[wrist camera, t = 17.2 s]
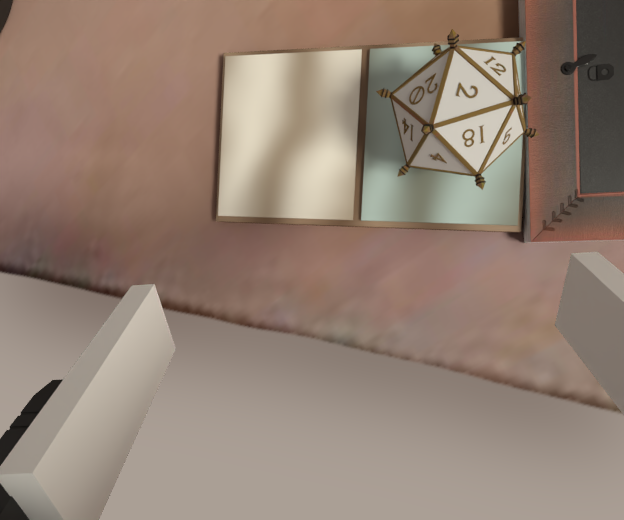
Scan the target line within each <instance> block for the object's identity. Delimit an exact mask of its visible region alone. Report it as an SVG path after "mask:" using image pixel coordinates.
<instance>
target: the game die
mask: <svg viewBox="0 0 624 520" xmlns="http://www.w3.org/2000/svg"><path fill="white" fill-rule="evenodd" d="M458 37H459V35H458V34H456V33H455V32H454V31H453V29H452V30H451V32H450V34H449V35H448V45H450V47H449V48H447V49H445V50H444V51H442V50H441V46H440V45H438V44H436V43H435V44H434V47H433V49H432V51H433V54H434V55H435V57H434V58H432V59H431V60H430V61H429V62H428V63H426V64H425V65H424V66H423V67H422V68H420V69H419V70H418V71H417V72H416V73H414V74H413V75H412V76H411V77H410V78H408V79H407V80H406V81H405V82H404V83H402V84H401V85H400V86H399V87H398V88H396V89H395V90H394V91H393V92H390V91H389V90H388V89H387V90H386V89H384V88H383V89H381V90H378V91H376V92H377V93H378V94H379V95H380V96H381V97H385V98H390V99H391V103H392V107H393V112H394V116H395V120H396V124H397V128H398V132H399V136H400V140H401V144H402V148H403V152H404V157H405V161H406V165H404V166H401V168H400V169H399V173H398V176H402V175H406V173H407V172H408V170H409V168H417V169H424V170H432V171H439V172H446V173H453V174H460V175H467V176H474V177H475V182H476V186H478V187H480V188H481V189H482V190H483V188H484V185H485V183H486V181H485V180H484V179H485V178H484V177H482V175H481V174H482V173H483V172H484V171H485V170H486V169H487V168H488V167H489V166H490V165H491V164H492V163H493V162H494V161H495V160H496V159H497V158H498V157H500V156H501V155H502V154H503V153H504V152H505V151H506V150H507V149H508V148H509V147H510V146H511V145H512V144H513V143H514V142H515V141H516V140H517V139H518V138H519V137H520V136H521V135H522V134H525V135H526V136H527V137H528V136H529V137H530V138H532V137H535V136H538V135H539V133H538V132H537V131H536V129H532V128H529V129H526V125H525V118H524V111H523V104H527V103H528V101H529V100H530V99H531V97H530V96H528V95H527V94H526V93H524V94H523V95H522V94H521V91H520V85H519V78H518V71H517V65H516V58H515V57H516V55H517V54H520V53H521V51H522V50H524V47H525V43H526V41H523V42H520V43H516V44H517V45H516V46H515V47H513V50H512V52H504V51H496V50H489V49H482V48H474V47H467V46H459V45H457V42H458V41H459V40H458ZM398 176H397V177H398Z"/></svg>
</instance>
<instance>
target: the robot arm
mask: <svg viewBox="0 0 624 520" xmlns="http://www.w3.org/2000/svg"><path fill="white" fill-rule="evenodd" d="M11 4H12V0H0V32H1V30H2V28H3V26H4V24H5V22H6V20H7V17H8V14H9V11H10V8H11ZM555 326H556V327H557V329H558V330H559V331H560V333H561V334H562V335H563V336H564V338H565V339H566V340H567V342H568V343H569V344H570V346H571V347H572V348H573V349H574V351H575V352H576V353H577V355H578V356H579V357H580V359H581V360H582V361H583V362H584V364H585V365H586V366H587V368H588V369H589V370H590V372H591V373H592V374H593V375H594V377H595V378H596V379H597V381H598V382H599V383H600V385H601V386H602V387H603V388H604V390H605V391H606V392H607V394H608V395H609V396H610V398H611V399H612V400H613V401H614V403H615V404H616V405H617V407H618V408H619V409H620V411H621V412H622V413H623V414H624V273H622V272H621V271H620V270H619V269H618V268H616V267H615V266H614V265H613V264H612V263H610V262H609V261H608V260H607V259H606V258H604V257H603V256H602V255H601V254H600V253H598V252H586V253H572V254H571V257H570V261H569V266H568V270H567V274H566V279H565V283H564V287H563V292H562V296H561V301H560V305H559V309H558V314H557V318H556V322H555ZM175 350H176V348H175V345H174V342H173V339H172V336H171V333H170V330H169V327H168V324H167V321H166V318H165V315H164V311H163V308H162V305H161V302H160V299H159V296H158V293H157V290H156V287H155V284H147V285H133V286H131V287H130V289H129V290H128V291H127V293H126V294H125V296H124V297H123V298H122V300H121V301H120V303H119V304H118V305H117V307H116V308H115V309H114V311H113V312H112V313H111V315H110V316H109V318H108V319H107V320H106V322H105V323H104V324H103V326H102V327H101V329H100V330H99V331H98V333H97V334H96V335H95V337H94V338H93V339H92V341H91V342H90V344H89V345H88V346H87V348H86V349H85V351H84V352H83V353H82V355H81V356H80V357H79V359H78V360H77V361H76V363H75V364H74V366H73V367H72V369H71V370H70V371H69V372H68V374H67V375H66V377H65V378H64V379H63V380H52V381H51V382H50V383H49V384H47V385H46V386H45V387H44V388H42V389H41V390H40V391H39V392H38V393H36V394H35V395H34V396H33V397H32V399H31V400H30V401H29V403H28V404H27V405H26V406H25V408H24V409H23V410H22V412H21V415H20V416H18V417H17V418H16V419H15V421H14V422H13V423H12V424H11V426H10V430H7V431H6V432H5V433H4V435H3V436H2V437H1V439H0V520H99V518H100V516H101V514H102V512H103V509H104V507H105V505H106V503H107V500H108V498H109V496H110V494H111V492H112V489H113V487H114V485H115V483H116V480H117V478H118V476H119V474H120V471H121V469H122V467H123V465H124V463H125V460H126V458H127V456H128V454H129V452H130V449H131V447H132V445H133V443H134V440H135V438H136V436H137V434H138V432H139V429H140V427H141V425H142V423H143V420H144V418H145V416H146V414H147V412H148V409H149V407H150V405H151V403H152V400H153V398H154V396H155V394H156V392H157V389H158V387H159V385H160V383H161V380H162V378H163V376H164V374H165V372H166V370H167V367H168V365H169V363H170V361H171V358H172V356H173V354H174V352H175Z"/></svg>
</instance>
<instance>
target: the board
mask: <svg viewBox="0 0 624 520" xmlns="http://www.w3.org/2000/svg"><path fill="white" fill-rule="evenodd" d="M520 42H523V37H520V38H501V39H482V40H463V41H458V42H457V45H459V46H467V47H474V48H482V49H489V50H496V51H504V52H512V50H513V47H515V46H516V45H517V44H516V43H520ZM435 43H436V44H438V45H440V46H441V50H442V51H444V50H445V49H447V48H449V47H450V45H448V41H444V42H425V43H406V44H387V45H368V46H349V47H330V48H311V49H292V50H273V51H254V52H235V53H224V57H223V78H222V99H221V120H220V141H219V162H218V183H217V204H216V221H218V222H236V223H264V224H292V225H320V226H348V227H376V228H404V229H432V230H460V231H488V232H516V233H518V232H521V224H522V206H523V189H524V171H525V153H526V149H525V134H522V135H521V136H520V137H519V138H518V139H517V140H516V141H515V142H514V143H513V144H512V145H511V146H510V147H509V148H508V149H507V150H506V151H505V152H504V153H503V154H502V155H501V156H500V157H498V158H497V159H496V160H495V161H494V162H493V163H492V164H491V165H490V166H489V167H488V168H487V169H486V170H485V171H484V172H483V173H482V174H481V175H482V177H484V178H485V179H484V180H485V181H486V183H485V185H484V188H483V190H482V189H481V188H480V187H478V186H476V182H475V177H474V176H467V175H460V174H453V173H446V172H439V171H432V170H424V169H417V168H409V170H408V172H407V173H406V175H402V176H398V173H399V169H400V168H401V166H404V165H406V161H405V157H404V152H403V148H402V144H401V140H400V136H399V132H398V128H397V124H396V120H395V116H394V112H393V107H392V103H391V99H390V98H385V97H381V96H380V95H379V94H378V93H377V92H376V91H378V90H381V89H383V88H384V89H386V90H387V89H388V90H389V91H390V92H393V91H394V90H395V89H396V88H398V87H399V86H400V85H401V84H402V83H404V82H405V81H406V80H407V79H408V78H410V77H411V76H412V75H413V74H414V73H416V72H417V71H418V70H419V69H420V68H422V67H423V66H424V65H425V64H426V63H428V62H429V61H430V60H431V59H432V58H434V57H435V55H434V54H433V51H432V49H433V47H434V44H435ZM515 58H516V65H517V71H518V78H519V85H520V91H521V94H522V95H523V94H524V93H525V48H524V50H522V51H521V53H520V54H517V55H516V57H515ZM523 111H524V118H525V104H523ZM397 176H398V177H397Z"/></svg>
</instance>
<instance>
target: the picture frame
mask: <svg viewBox="0 0 624 520" xmlns="http://www.w3.org/2000/svg"><path fill="white" fill-rule="evenodd" d="M518 4H519V38H520V37H523V41H526V43H525V47H524V48H525V93H526V94H527V95H528V96H530V97H531V99H530V100H529V101H528V103H527V104H525V125H526V129H529V128H532V129H536V131H537V132H538V133H539V135H538V136H535V137H532V138H530V137H529V136H528V137H527V136H526V135H525V149H526V153H525V171H524V189H523V219H524V243H544V242H582V241H620V240H624V0H518Z"/></svg>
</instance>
